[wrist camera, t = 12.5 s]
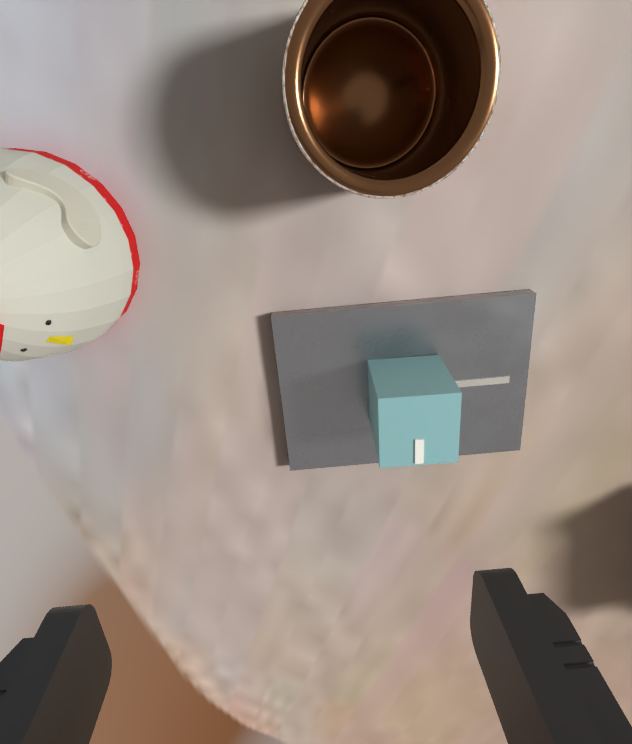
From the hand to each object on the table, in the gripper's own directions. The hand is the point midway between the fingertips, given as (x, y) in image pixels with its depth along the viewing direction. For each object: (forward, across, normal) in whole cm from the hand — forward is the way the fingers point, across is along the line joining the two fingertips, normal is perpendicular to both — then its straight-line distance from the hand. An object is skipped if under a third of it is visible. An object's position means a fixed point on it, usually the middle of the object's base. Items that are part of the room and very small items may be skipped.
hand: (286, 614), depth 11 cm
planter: (+30, -6, -11) cm, 33 cm away
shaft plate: (+30, -8, +10) cm, 32 cm away
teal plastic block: (+28, -8, +10) cm, 31 cm away
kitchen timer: (+30, +18, -3) cm, 35 cm away
